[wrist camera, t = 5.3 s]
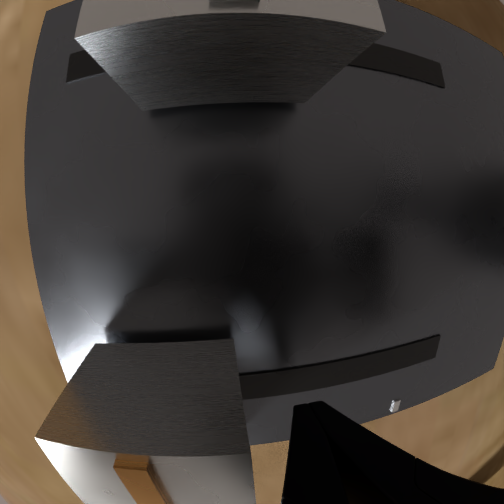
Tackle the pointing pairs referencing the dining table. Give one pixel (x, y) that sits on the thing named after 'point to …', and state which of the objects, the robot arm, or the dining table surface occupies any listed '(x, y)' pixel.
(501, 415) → the dining table surface
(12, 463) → the dining table surface
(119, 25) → the fader
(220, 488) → the fader
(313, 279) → the plate
